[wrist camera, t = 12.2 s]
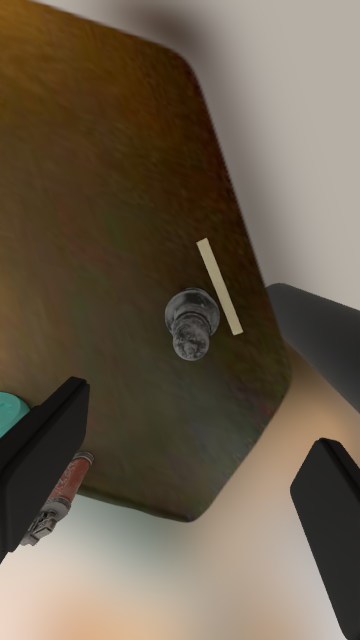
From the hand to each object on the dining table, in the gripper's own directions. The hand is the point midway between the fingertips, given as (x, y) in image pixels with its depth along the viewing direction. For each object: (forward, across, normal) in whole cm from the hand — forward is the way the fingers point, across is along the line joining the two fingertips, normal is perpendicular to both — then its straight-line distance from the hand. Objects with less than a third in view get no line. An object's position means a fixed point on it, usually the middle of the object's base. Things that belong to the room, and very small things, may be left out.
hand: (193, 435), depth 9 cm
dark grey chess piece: (+19, +1, 0) cm, 19 cm away
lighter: (+18, +14, +31) cm, 38 cm away
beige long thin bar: (+18, -2, -4) cm, 19 cm away
